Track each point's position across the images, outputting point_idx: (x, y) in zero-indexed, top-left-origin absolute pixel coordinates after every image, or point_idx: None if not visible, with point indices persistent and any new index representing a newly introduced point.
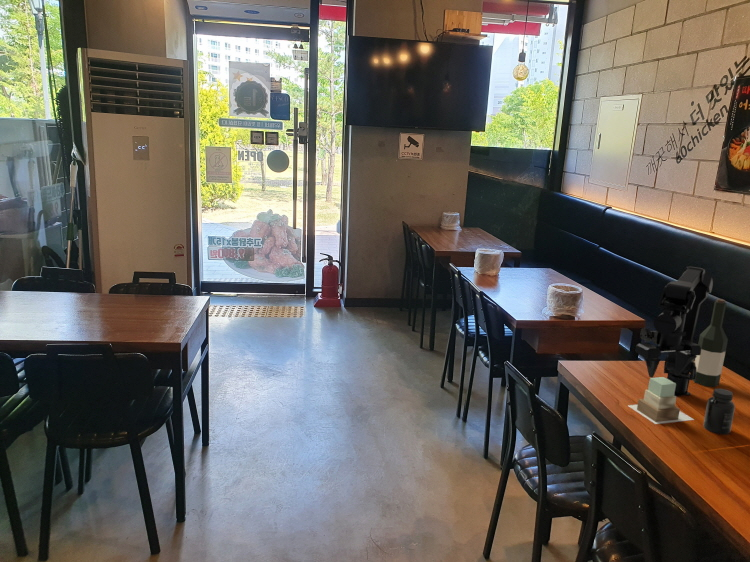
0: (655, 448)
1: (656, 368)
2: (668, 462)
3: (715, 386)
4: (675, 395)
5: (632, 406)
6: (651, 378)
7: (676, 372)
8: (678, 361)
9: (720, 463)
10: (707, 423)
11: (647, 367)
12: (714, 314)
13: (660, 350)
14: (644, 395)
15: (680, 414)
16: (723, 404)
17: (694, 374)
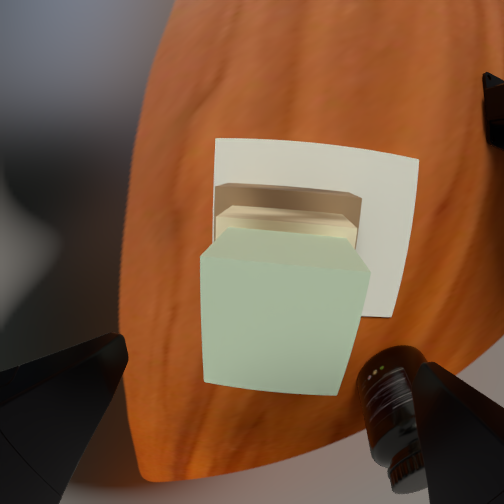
0: (130, 378)
1: (77, 455)
2: (130, 411)
3: None
4: (489, 142)
5: (232, 151)
6: (208, 268)
7: (424, 393)
8: (480, 475)
9: (236, 450)
10: (362, 387)
11: (35, 367)
12: None
13: None
14: (225, 210)
15: (383, 272)
16: (386, 467)
17: None
